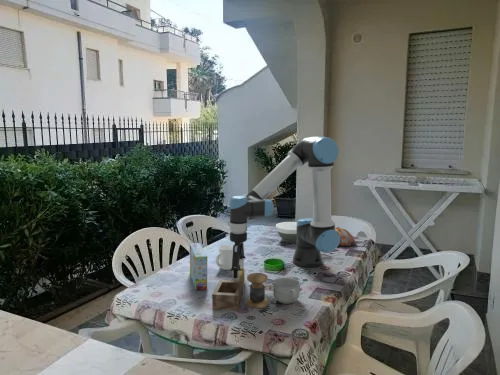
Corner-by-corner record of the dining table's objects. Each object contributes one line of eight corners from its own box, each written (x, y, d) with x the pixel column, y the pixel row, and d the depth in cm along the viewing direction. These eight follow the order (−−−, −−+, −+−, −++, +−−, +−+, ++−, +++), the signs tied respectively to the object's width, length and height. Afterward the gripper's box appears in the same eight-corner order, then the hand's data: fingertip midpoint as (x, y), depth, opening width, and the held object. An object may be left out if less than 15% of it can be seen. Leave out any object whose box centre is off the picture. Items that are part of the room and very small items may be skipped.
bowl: (309, 245, 219) (309, 229, 218) (276, 245, 219) (276, 229, 218) (304, 236, 238) (304, 221, 237) (274, 236, 239) (274, 221, 237)
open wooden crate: (243, 294, 152) (243, 280, 151) (238, 310, 138) (238, 295, 137) (220, 293, 153) (219, 279, 152) (212, 309, 139) (212, 294, 138)
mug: (222, 273, 175) (222, 253, 173) (210, 269, 180) (210, 249, 179) (239, 266, 184) (239, 247, 182) (227, 263, 189) (227, 243, 188)
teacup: (271, 295, 151) (271, 276, 150) (297, 294, 152) (297, 275, 151) (276, 311, 138) (276, 291, 136) (305, 310, 138) (305, 290, 137)
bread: (328, 239, 235) (328, 223, 234) (358, 243, 225) (359, 227, 224) (318, 244, 221) (319, 227, 221) (350, 249, 211) (351, 232, 210)
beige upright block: (245, 283, 163) (244, 264, 162) (244, 286, 160) (243, 266, 159) (234, 283, 164) (233, 263, 162) (232, 285, 161) (232, 266, 160)
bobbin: (269, 298, 148) (269, 272, 146) (267, 309, 139) (267, 281, 137) (247, 297, 149) (247, 271, 147) (244, 307, 140) (244, 280, 139)
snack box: (208, 289, 157) (207, 256, 155) (195, 291, 155) (194, 257, 153) (201, 272, 177) (200, 242, 175) (189, 273, 176) (188, 243, 173)
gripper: (234, 224, 171) (234, 267, 174) (224, 239, 147) (224, 289, 150) (250, 225, 170) (250, 268, 173) (242, 240, 146) (242, 290, 149)
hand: (238, 278), depth 161 cm, fingers open, 13 cm apart
